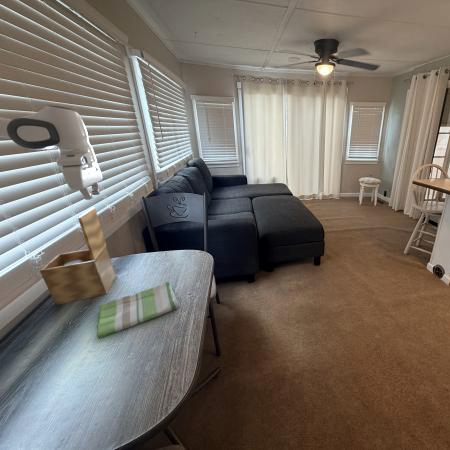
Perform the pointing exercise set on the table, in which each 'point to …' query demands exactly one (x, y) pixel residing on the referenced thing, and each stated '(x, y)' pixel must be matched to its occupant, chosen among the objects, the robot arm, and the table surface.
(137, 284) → the table surface
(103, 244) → the lid
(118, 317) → the dish towel
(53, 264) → the box
